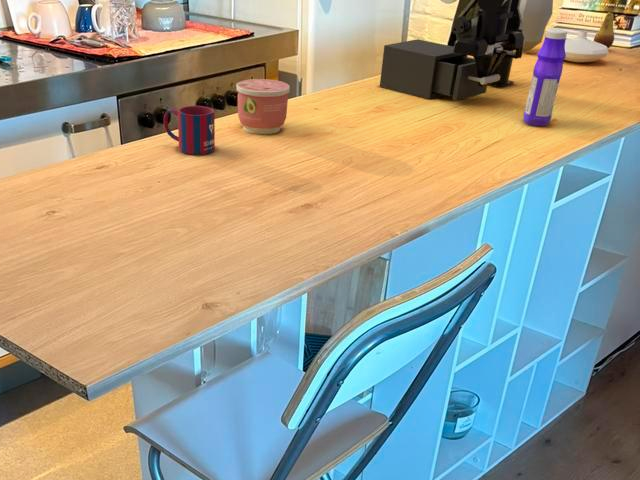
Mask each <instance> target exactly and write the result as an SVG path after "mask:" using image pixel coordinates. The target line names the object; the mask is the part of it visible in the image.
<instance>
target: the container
mask: <svg viewBox="0 0 640 480" xmlns="http://www.w3.org/2000/svg"><path fill="white" fill-rule="evenodd" d="M235 86H236V87H235V88H236V91H237V117H238V120H239V122H240V124H241V125H242V126H243V127H242V129H243V130H244V131H245V132H247V133H251V134H255V135H270V134H276V133H279V132H280V131H281V127H282V126H284V124H285V121H286V119H287V113H288V102H289V95H288V94H289V93H290V90H291V88H290V85H289V84H288V83H286V82H284V81H281V80H276V79H267V78H253V79H251V78H250V79H245V80H244V79H243V80H241V81H239V82H237V83H236V85H235Z"/></svg>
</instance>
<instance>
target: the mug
mask: <svg viewBox="0 0 640 480" xmlns="http://www.w3.org/2000/svg"><path fill="white" fill-rule="evenodd" d="M170 113H172V114H174V115H175V116H177V128H178V129H177V131H178V132H177V133H178V135H175V133H173V132H172V131H171V129H170V127H169V123H168V121H169V120H168V118H169V114H170ZM215 115H216V113H215V109H214V108H212V107H209V106H204V105H186V106H182V107H180V108H178V109H174V108H173V109H172V108H171V109H168V110H166V111H165V113H164V115H163V126H164V129H165V130H164V131H165V133H167V135H168V136H169V137H170V138H172V140H174V141H176V142H178V150H179V152H181V153H183V154H186V155H193V156H202V155H208V154H211V153H213V152H214V151H215V146H216V144H215V143H216V141H215V136H216V135H215V134H216V133H215V127H216V126H215V124H216V123H215V121H216V120H215V117H216V116H215Z"/></svg>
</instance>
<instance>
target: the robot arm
mask: <svg viewBox="0 0 640 480" xmlns="http://www.w3.org/2000/svg"><path fill="white" fill-rule="evenodd" d="M520 2H521V0H476V3H477V5H478V8H479V9H478V10H477V11H476V14H475V17H474V18H470V19H467V18H466V16H465V15H461V16H458V17H457V16H456V17H454V20H453V24H452V28H451V32H452V34H453V35H456V36H455V37H456V40H455V41H454V45H453V47H454V50H453V52H455V53H459V54H464V55H468V57H472V58H474V59H475V61H476V67H477V76H478V78H483V77H487V76H491V75H496V74H499V75H500V80H499V81H496V82H492V83H488V84H487V86H492V87H497V88H502V87H506V86H510V85H513V84H514V81H513V80H510V75H511V69H512V65H513V60H514V59H515V60H517V59H522V57H523V53H524V52H523V47H524V38H525V37H524V35H523V30H521V29H522V24H523V20H522V17H521V13H520V9H519V7H520ZM478 85H479V86H481V87H483V86H485V84H484V85H482V84H481V83H480V82H478Z"/></svg>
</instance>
